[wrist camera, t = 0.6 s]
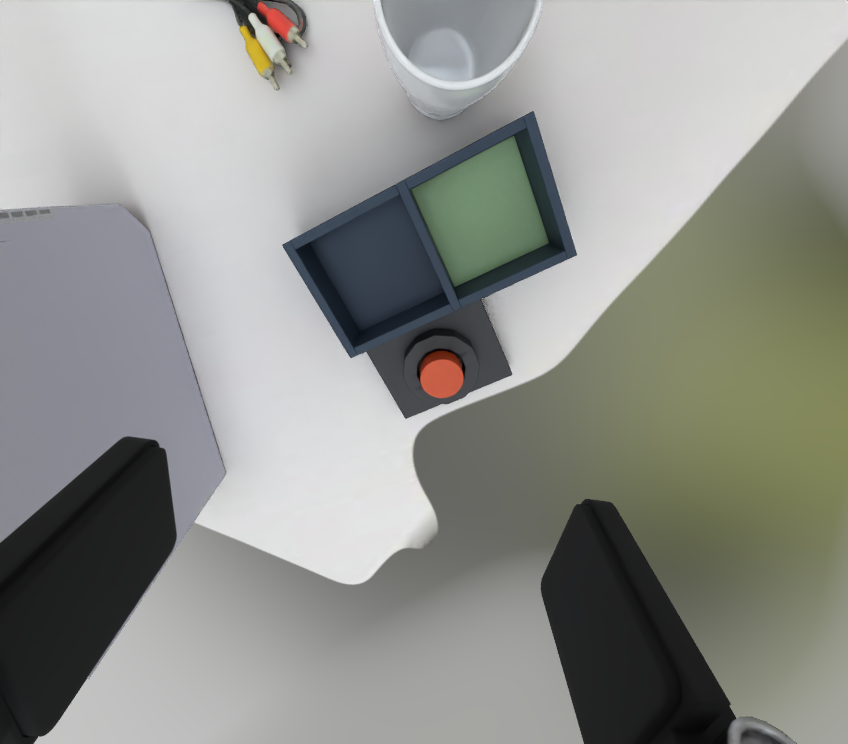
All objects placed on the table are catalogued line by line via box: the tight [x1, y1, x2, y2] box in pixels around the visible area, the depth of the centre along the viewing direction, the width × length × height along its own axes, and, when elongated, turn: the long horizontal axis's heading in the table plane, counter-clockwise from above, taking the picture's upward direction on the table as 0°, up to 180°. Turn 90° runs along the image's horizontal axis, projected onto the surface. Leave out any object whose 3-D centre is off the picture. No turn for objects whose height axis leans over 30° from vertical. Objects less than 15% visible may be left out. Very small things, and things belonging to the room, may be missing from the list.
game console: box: [0, 204, 226, 679], centre depth 29 cm, size 6×27×20 cm, turn 2°
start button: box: [420, 350, 464, 398], centre depth 34 cm, size 4×4×2 cm
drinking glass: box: [373, 0, 544, 120], centre depth 22 cm, size 7×7×15 cm
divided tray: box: [282, 111, 577, 358], centre depth 31 cm, size 19×10×5 cm, turn 115°
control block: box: [366, 299, 512, 419], centre depth 36 cm, size 11×8×4 cm
